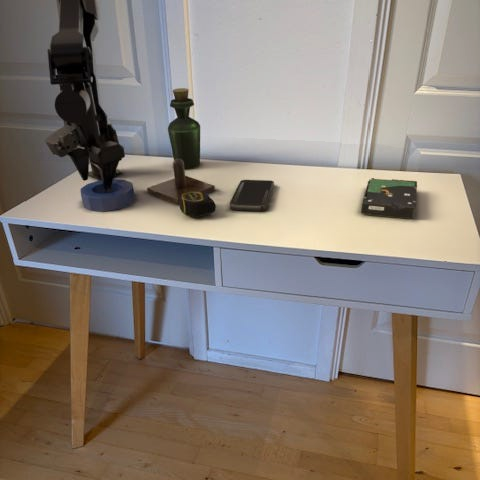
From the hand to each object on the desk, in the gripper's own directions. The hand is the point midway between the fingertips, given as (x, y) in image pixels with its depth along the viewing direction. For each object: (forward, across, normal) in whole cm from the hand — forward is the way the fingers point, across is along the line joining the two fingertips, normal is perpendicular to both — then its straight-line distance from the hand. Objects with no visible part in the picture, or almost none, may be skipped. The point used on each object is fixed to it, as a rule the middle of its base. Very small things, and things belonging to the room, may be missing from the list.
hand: (96, 184), depth 110 cm
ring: (+3, +4, 0) cm, 5 cm away
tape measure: (+3, +24, +9) cm, 26 cm away
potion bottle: (+3, 0, +27) cm, 27 cm away
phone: (+3, +28, +22) cm, 35 cm away
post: (+3, +12, +14) cm, 19 cm away
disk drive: (+3, +52, +38) cm, 64 cm away
